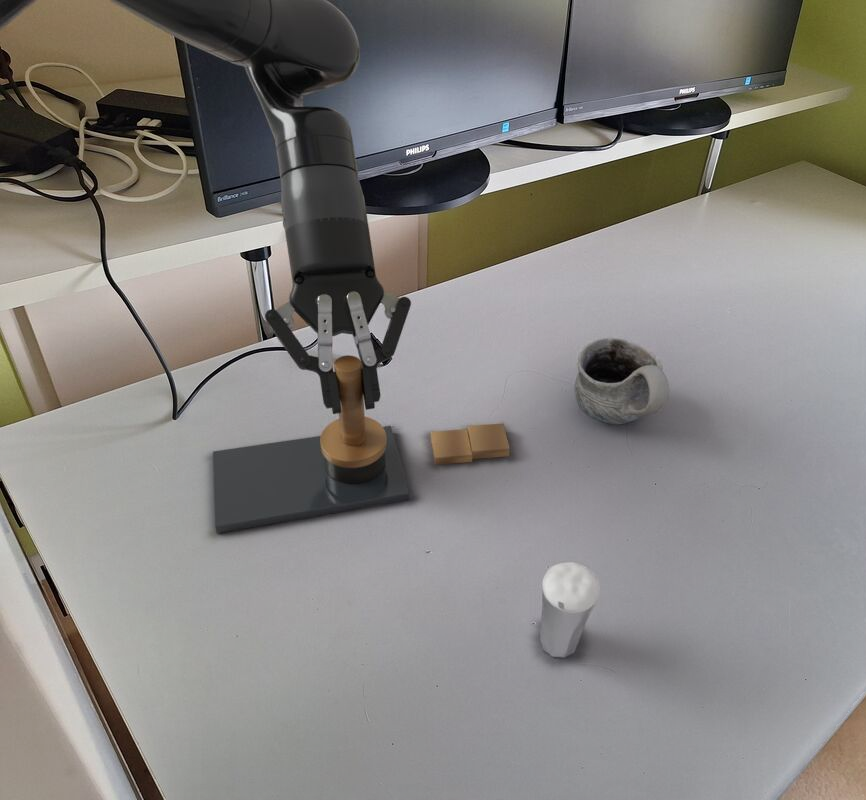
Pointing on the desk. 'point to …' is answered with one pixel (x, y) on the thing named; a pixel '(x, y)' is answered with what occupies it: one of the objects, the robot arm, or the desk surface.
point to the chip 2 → (488, 441)
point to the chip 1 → (451, 446)
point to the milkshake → (566, 606)
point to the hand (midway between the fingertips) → (354, 410)
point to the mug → (619, 381)
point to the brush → (352, 431)
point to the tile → (294, 484)
